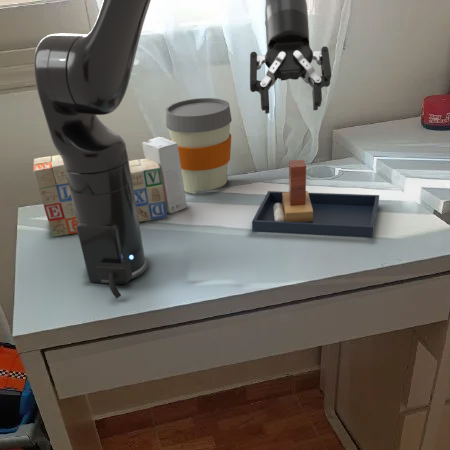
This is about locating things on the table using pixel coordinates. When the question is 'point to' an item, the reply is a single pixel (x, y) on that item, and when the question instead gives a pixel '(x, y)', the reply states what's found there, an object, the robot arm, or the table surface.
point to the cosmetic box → (168, 171)
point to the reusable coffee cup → (201, 141)
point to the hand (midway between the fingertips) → (291, 109)
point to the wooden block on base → (297, 195)
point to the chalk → (278, 212)
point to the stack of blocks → (62, 201)
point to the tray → (323, 215)
